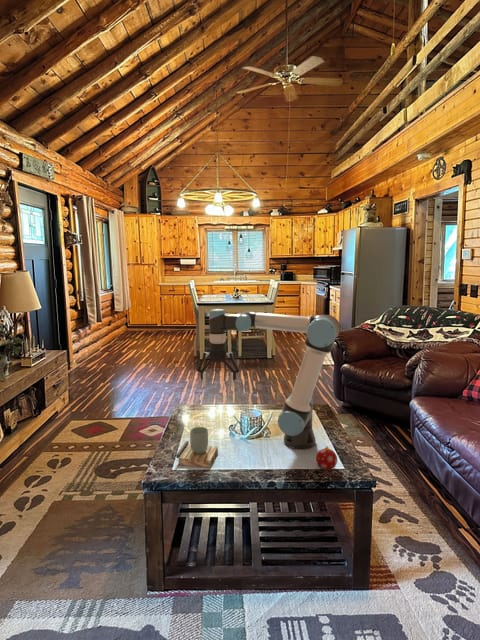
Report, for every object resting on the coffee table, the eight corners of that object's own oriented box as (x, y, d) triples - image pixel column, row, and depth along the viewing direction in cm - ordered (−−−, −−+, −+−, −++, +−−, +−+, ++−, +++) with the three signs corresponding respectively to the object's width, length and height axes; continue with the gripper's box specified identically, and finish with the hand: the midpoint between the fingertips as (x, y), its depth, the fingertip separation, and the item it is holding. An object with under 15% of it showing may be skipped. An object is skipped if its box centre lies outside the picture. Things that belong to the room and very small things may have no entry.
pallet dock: (218, 452, 186) (217, 443, 186) (210, 467, 172) (210, 457, 172) (186, 450, 189) (186, 440, 188) (176, 464, 175) (176, 454, 175)
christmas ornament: (322, 462, 178) (322, 440, 177) (340, 468, 172) (341, 445, 171) (312, 469, 171) (312, 446, 170) (330, 476, 166) (331, 452, 165)
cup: (205, 456, 176) (205, 434, 174) (187, 455, 177) (187, 433, 176) (210, 449, 183) (210, 427, 182) (193, 447, 185) (193, 426, 183)
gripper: (245, 341, 194) (245, 384, 197) (193, 340, 197) (194, 383, 200) (243, 344, 187) (243, 389, 189) (189, 343, 190) (190, 387, 193)
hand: (218, 386), depth 195 cm, fingers open, 13 cm apart
